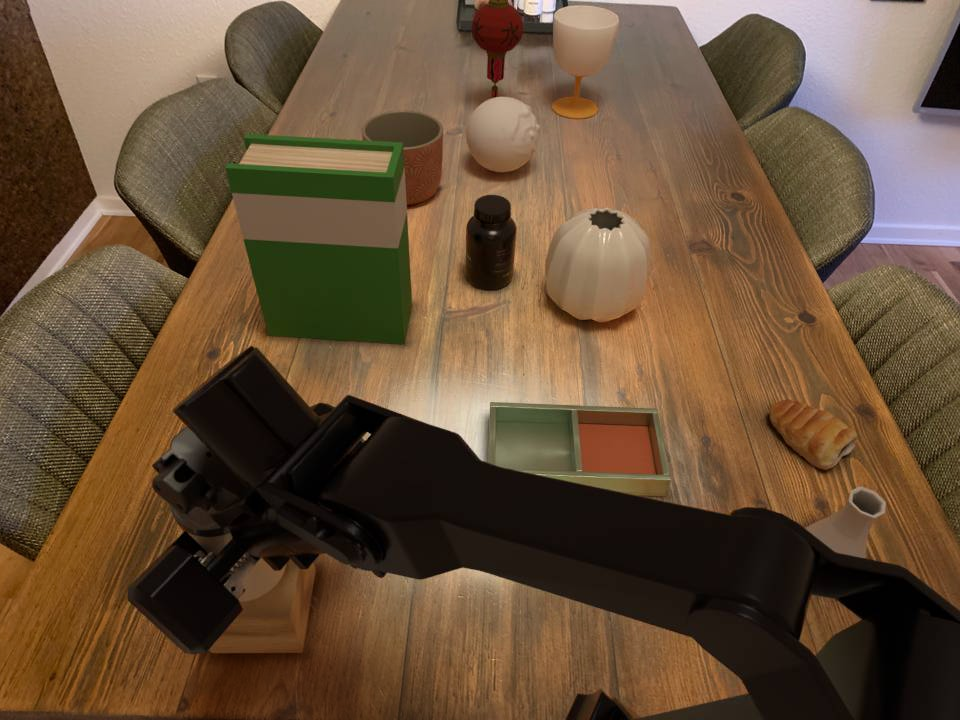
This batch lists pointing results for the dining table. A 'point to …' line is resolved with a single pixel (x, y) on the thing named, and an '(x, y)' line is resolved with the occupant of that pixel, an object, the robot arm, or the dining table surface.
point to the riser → (272, 617)
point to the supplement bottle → (490, 243)
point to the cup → (582, 51)
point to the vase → (598, 264)
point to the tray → (582, 445)
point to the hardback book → (326, 236)
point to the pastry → (813, 432)
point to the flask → (850, 523)
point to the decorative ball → (502, 134)
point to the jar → (216, 540)
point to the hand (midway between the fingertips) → (221, 524)
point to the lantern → (497, 35)
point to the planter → (412, 148)
